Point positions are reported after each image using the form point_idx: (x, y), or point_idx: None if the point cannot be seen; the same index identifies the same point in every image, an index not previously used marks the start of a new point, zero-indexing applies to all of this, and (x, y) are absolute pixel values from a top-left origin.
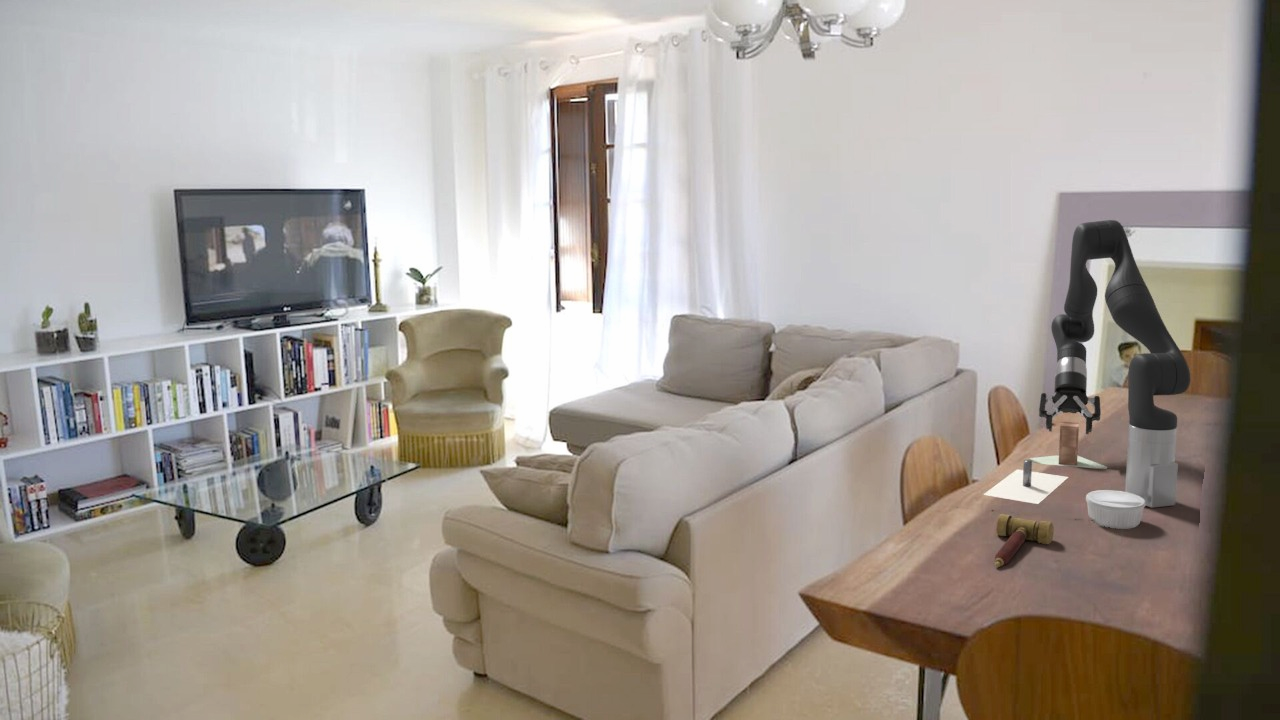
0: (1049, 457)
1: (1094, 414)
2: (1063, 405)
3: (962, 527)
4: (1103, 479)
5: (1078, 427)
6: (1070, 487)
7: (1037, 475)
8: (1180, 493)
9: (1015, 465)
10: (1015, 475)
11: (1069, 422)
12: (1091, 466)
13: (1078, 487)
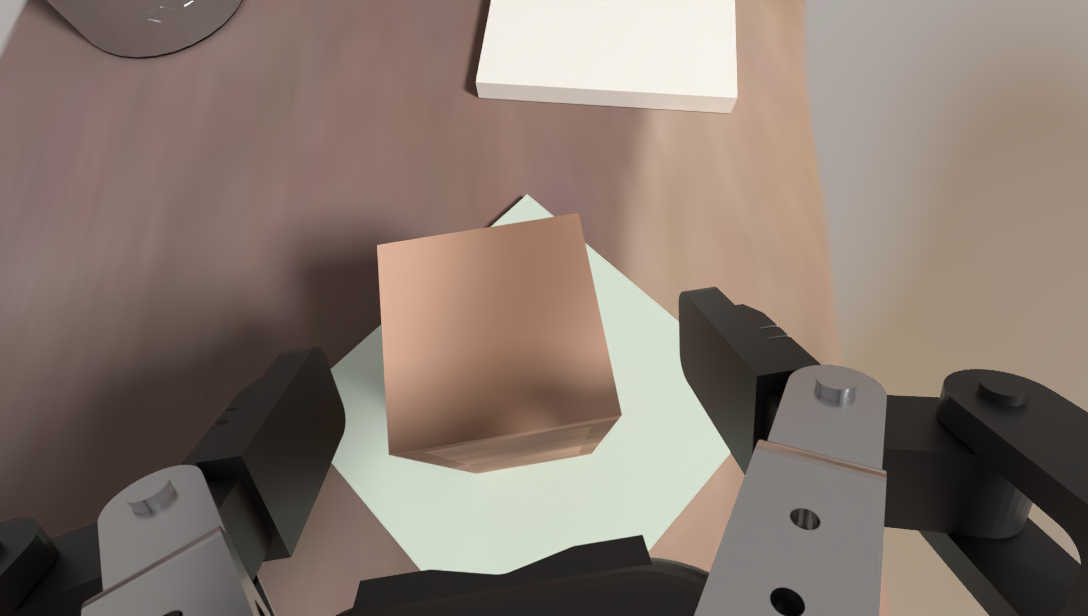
0: (659, 486)
1: (61, 577)
2: (656, 601)
3: None
4: (322, 193)
5: (383, 248)
6: (460, 24)
7: (615, 46)
8: (5, 133)
9: (791, 245)
10: (707, 8)
11: (503, 424)
12: (380, 378)
13: (428, 37)
